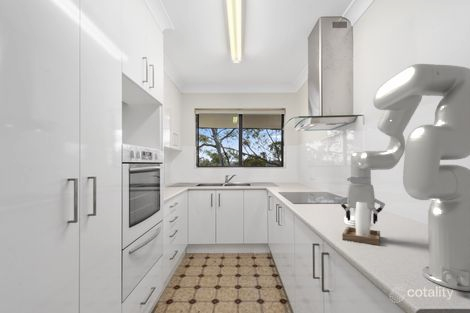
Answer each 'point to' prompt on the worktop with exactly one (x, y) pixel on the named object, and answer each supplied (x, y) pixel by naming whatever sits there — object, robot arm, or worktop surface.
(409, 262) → the worktop surface
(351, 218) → the white cup lid
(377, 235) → the tray
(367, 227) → the white tall cup
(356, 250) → the worktop surface
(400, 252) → the worktop surface
